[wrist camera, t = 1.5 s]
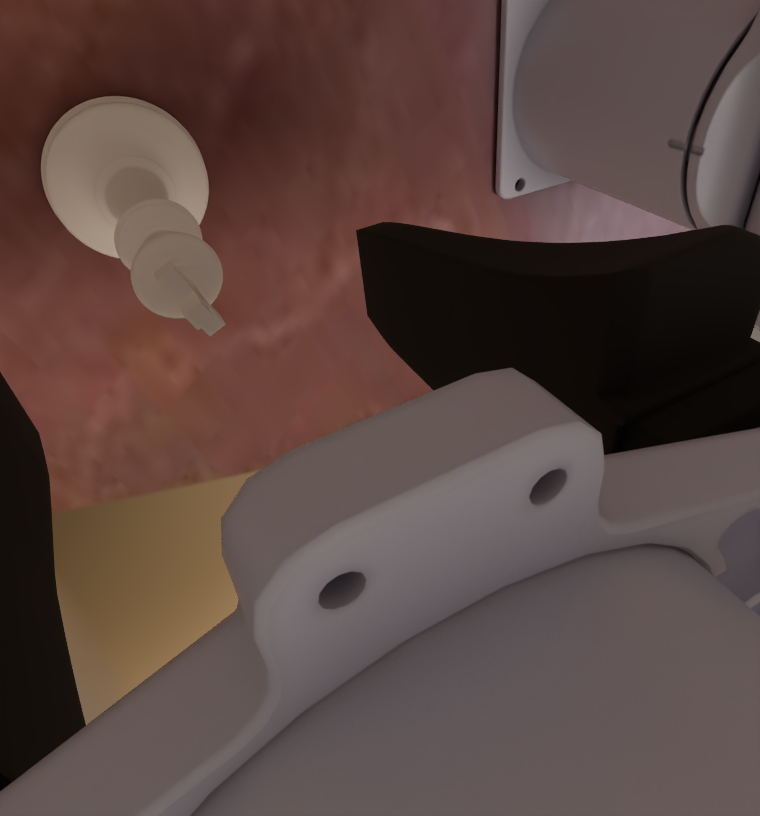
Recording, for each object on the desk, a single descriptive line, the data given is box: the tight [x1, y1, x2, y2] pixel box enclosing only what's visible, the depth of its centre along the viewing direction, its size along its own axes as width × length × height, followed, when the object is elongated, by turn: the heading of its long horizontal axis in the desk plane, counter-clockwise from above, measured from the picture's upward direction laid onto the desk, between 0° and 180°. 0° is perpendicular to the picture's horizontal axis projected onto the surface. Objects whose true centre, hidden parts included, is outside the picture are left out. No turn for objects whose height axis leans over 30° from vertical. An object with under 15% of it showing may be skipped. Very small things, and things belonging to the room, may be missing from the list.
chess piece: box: [41, 96, 225, 336], centre depth 16 cm, size 5×5×10 cm
